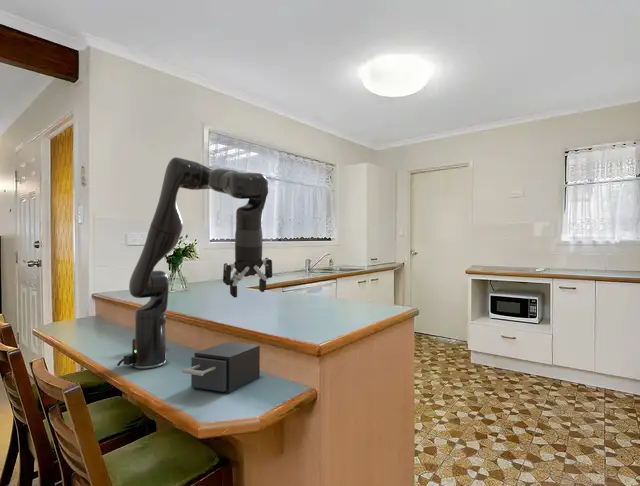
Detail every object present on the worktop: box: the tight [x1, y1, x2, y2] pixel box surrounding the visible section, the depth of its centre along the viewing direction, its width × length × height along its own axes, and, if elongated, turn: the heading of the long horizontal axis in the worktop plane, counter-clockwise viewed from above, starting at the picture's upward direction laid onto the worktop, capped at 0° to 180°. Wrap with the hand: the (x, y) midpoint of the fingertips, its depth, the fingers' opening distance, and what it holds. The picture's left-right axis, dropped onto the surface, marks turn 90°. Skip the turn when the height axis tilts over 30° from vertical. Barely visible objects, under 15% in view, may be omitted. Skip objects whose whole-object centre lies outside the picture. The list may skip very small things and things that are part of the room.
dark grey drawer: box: [182, 356, 227, 393], centre depth 107 cm, size 18×12×8 cm, turn 161°
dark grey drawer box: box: [194, 341, 261, 394], centre depth 112 cm, size 14×13×10 cm
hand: (248, 293), depth 110 cm, fingers open, 8 cm apart
